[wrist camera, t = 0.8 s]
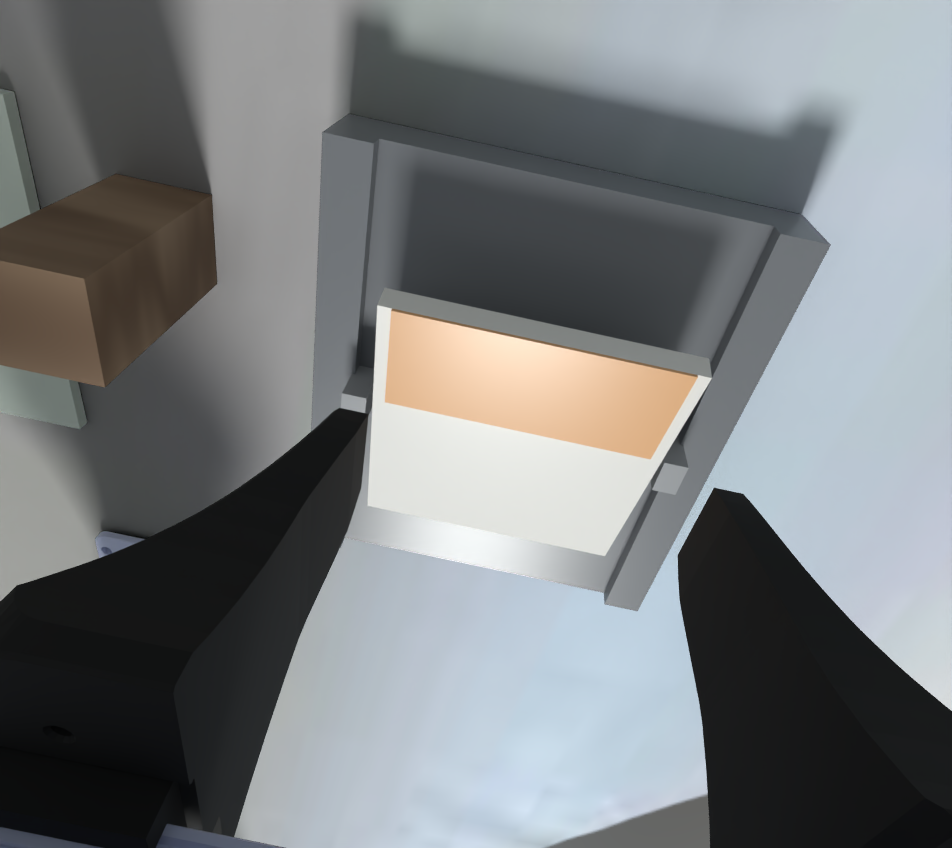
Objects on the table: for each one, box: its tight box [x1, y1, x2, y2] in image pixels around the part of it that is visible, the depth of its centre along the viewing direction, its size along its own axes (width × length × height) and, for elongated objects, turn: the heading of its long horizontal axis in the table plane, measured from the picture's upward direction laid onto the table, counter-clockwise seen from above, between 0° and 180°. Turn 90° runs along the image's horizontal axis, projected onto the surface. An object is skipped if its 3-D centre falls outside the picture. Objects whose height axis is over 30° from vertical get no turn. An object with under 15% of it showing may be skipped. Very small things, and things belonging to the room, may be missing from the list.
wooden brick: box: [0, 174, 217, 387], centre depth 19 cm, size 3×3×7 cm
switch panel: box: [311, 114, 830, 611], centre depth 23 cm, size 16×14×4 cm
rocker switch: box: [367, 288, 712, 556], centre depth 21 cm, size 10×9×1 cm
